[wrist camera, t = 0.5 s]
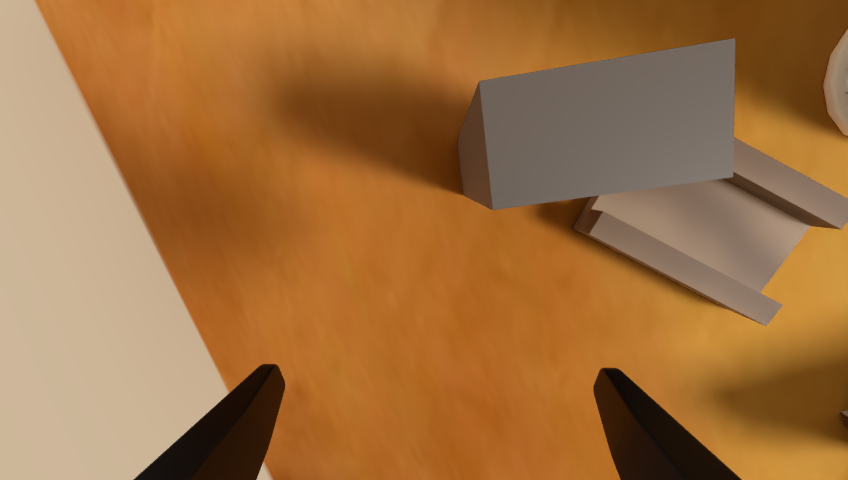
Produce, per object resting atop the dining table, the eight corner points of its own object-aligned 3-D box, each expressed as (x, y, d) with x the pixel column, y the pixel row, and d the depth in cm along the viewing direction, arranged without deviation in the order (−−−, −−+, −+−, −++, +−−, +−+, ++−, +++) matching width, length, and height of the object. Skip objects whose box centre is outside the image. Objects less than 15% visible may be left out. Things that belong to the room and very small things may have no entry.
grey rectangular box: (564, 181, 20) (733, 177, 9) (463, 195, 21) (492, 210, 9) (560, 122, 20) (735, 31, 8) (456, 138, 20) (478, 74, 9)
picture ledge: (728, 309, 21) (766, 326, 19) (571, 228, 21) (589, 234, 18) (808, 202, 20) (860, 205, 17) (641, 113, 20) (670, 102, 17)
